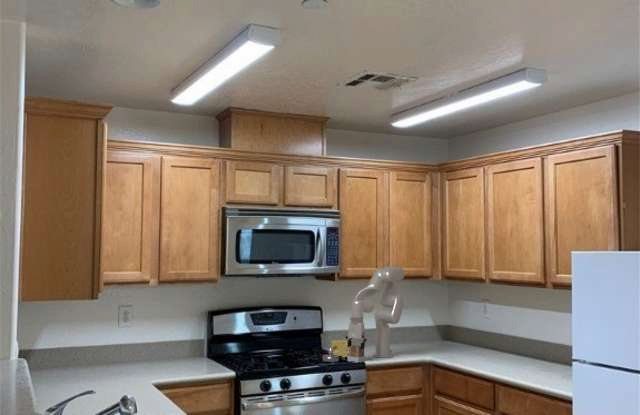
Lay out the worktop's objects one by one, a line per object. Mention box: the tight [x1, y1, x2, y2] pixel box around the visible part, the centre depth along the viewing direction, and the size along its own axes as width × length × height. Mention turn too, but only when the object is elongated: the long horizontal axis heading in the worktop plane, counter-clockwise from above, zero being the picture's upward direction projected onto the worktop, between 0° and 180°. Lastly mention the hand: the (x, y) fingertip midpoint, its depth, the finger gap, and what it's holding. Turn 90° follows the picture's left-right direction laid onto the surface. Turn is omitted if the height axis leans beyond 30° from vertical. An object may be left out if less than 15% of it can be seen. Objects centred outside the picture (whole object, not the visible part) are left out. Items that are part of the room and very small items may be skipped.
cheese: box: [330, 339, 349, 358], centre depth 405 cm, size 10×11×10 cm
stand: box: [347, 345, 366, 363], centre depth 386 cm, size 8×8×9 cm
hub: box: [322, 346, 340, 363], centre depth 385 cm, size 10×10×8 cm
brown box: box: [348, 345, 365, 357], centre depth 387 cm, size 7×7×6 cm
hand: (355, 348), depth 386 cm, fingers open, 9 cm apart
